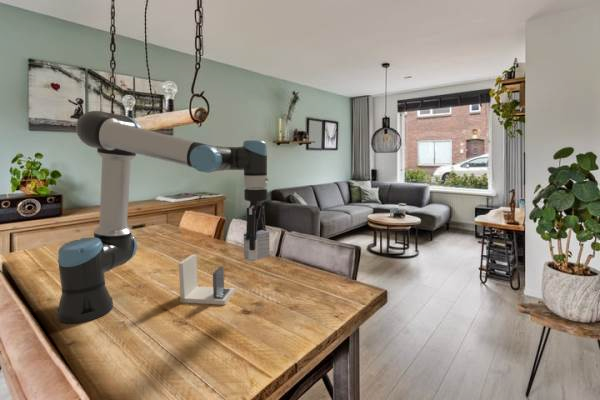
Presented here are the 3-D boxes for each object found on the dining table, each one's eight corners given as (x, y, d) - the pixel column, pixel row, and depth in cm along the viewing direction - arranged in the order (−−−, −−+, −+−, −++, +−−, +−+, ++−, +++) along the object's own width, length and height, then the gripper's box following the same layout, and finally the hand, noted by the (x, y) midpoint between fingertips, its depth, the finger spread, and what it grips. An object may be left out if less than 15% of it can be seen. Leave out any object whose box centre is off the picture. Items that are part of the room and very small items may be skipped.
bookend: (213, 298, 111) (212, 273, 110) (221, 290, 118) (220, 266, 117) (223, 298, 111) (222, 273, 110) (229, 290, 118) (229, 266, 117)
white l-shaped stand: (180, 302, 112) (178, 263, 110) (194, 289, 122) (192, 254, 120) (225, 304, 110) (223, 265, 108) (234, 292, 120) (233, 255, 118)
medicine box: (260, 253, 113) (260, 229, 112) (269, 256, 111) (269, 231, 109) (243, 259, 107) (243, 233, 106) (252, 261, 104) (252, 235, 103)
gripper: (258, 191, 95) (259, 265, 98) (273, 185, 116) (274, 246, 119) (234, 191, 96) (235, 264, 99) (253, 185, 117) (254, 245, 120)
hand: (256, 254), depth 109 cm, fingers closed on medicine box, 9 cm apart
